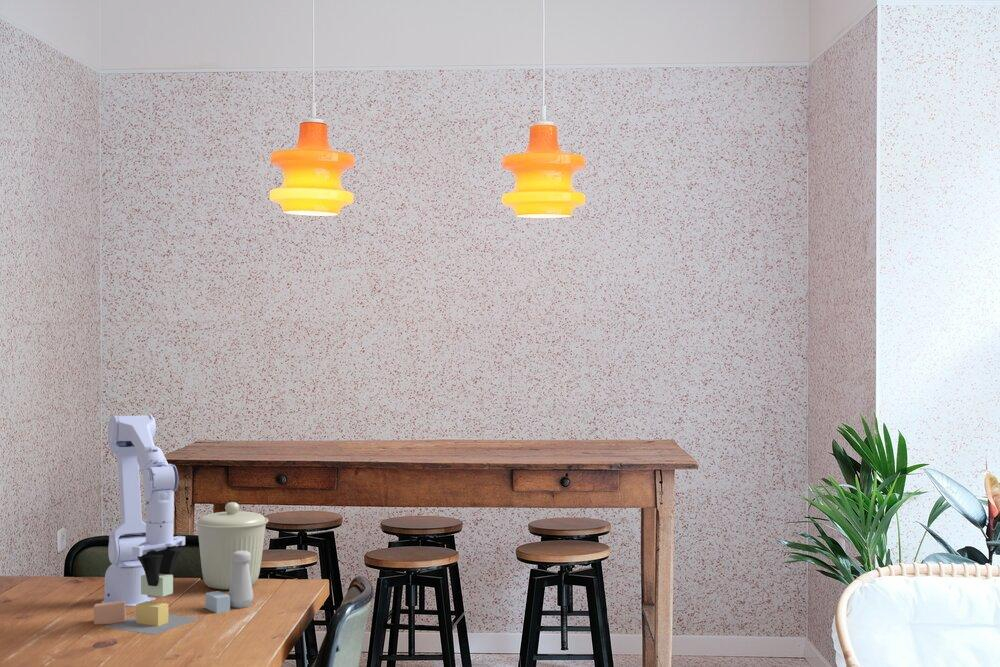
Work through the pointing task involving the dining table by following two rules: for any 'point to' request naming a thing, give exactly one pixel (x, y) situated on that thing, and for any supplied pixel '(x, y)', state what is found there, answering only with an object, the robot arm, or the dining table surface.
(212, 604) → the slate brick
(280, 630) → the dining table surface
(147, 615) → the mustard brick
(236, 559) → the salt shaker
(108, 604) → the terracotta brick
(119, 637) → the dining table surface
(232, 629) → the dining table surface
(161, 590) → the green brick
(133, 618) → the felt mat
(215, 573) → the canister
